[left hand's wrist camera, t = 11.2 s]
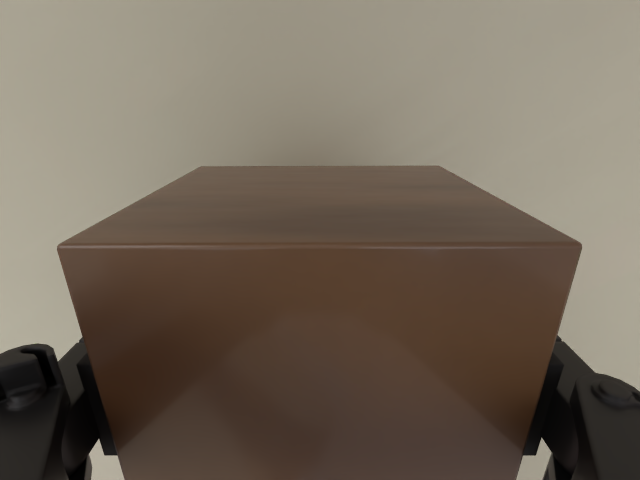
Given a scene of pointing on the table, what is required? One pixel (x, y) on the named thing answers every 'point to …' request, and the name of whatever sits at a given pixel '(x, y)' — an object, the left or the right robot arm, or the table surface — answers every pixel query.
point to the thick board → (320, 324)
